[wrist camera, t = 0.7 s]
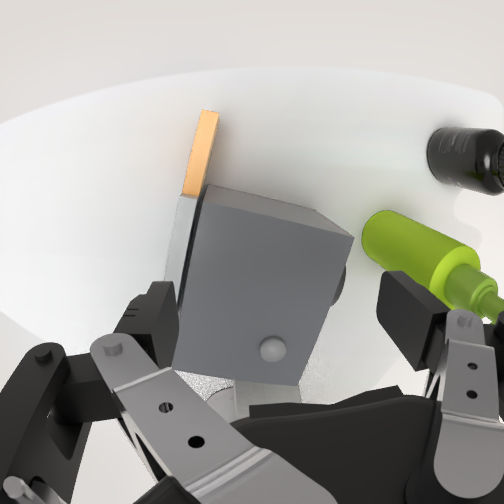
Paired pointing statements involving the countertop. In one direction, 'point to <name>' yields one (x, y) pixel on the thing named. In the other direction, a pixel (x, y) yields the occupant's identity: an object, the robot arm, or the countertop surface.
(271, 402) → the grey gable top carton
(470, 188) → the supplement bottle
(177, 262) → the side door
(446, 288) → the soap dispenser
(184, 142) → the countertop surface
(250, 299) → the camera housing
